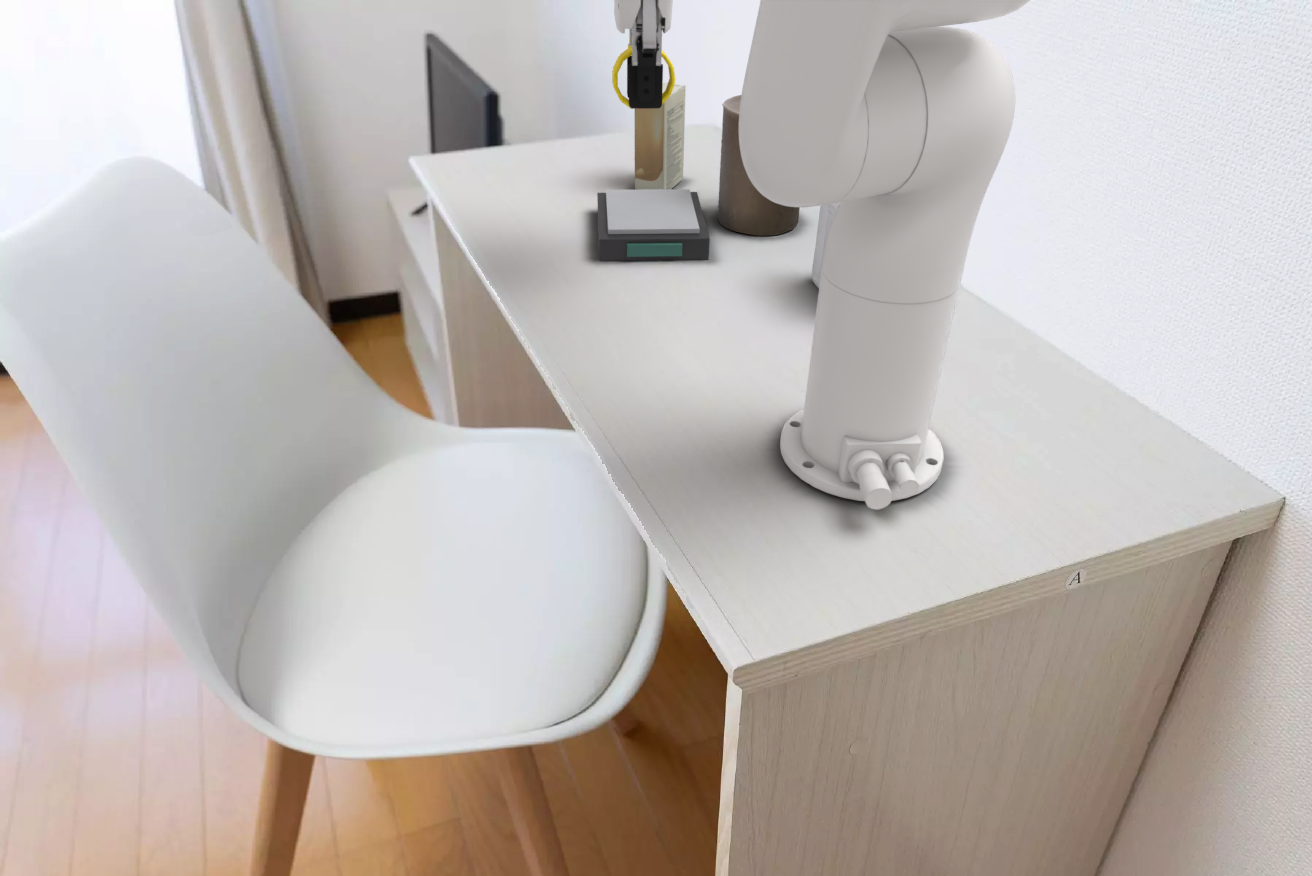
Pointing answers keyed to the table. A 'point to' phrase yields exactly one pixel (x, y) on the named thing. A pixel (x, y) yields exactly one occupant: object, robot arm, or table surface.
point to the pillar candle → (745, 187)
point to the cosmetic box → (660, 142)
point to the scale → (651, 225)
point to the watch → (627, 54)
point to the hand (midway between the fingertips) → (644, 101)
